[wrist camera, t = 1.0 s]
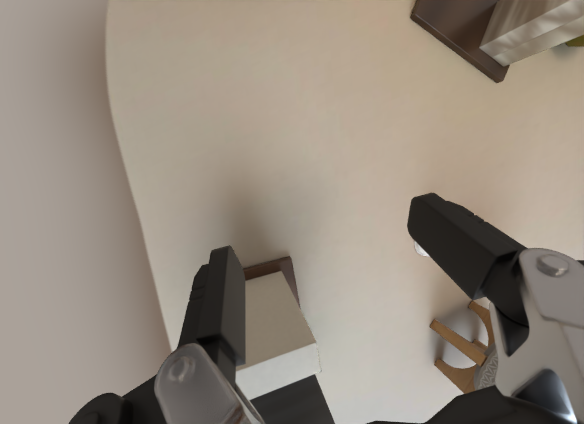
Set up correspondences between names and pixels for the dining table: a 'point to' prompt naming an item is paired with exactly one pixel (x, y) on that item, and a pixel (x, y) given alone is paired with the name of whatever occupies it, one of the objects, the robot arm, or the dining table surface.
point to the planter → (471, 355)
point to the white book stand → (500, 28)
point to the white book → (275, 338)
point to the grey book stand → (298, 395)
